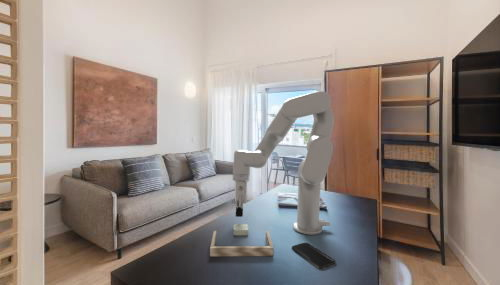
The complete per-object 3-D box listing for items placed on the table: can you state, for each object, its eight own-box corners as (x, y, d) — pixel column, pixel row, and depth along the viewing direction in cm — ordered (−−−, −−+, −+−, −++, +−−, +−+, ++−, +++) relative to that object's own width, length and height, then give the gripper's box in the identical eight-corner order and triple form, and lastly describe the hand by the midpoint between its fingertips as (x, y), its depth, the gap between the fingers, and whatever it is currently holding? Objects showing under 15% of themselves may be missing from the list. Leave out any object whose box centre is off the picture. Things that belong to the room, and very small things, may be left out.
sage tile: (247, 229, 103) (247, 224, 103) (248, 235, 97) (248, 230, 97) (234, 229, 103) (234, 224, 103) (233, 236, 97) (233, 230, 97)
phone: (306, 242, 91) (337, 261, 78) (306, 244, 91) (337, 265, 78) (290, 246, 87) (319, 267, 74) (290, 249, 87) (319, 271, 74)
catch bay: (268, 237, 95) (268, 230, 95) (273, 255, 82) (273, 247, 82) (213, 237, 94) (213, 230, 94) (210, 256, 81) (210, 247, 80)
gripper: (250, 181, 100) (247, 222, 101) (248, 174, 114) (246, 210, 116) (232, 180, 99) (230, 222, 100) (233, 173, 114) (231, 210, 115)
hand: (239, 215), depth 108 cm, fingers closed
